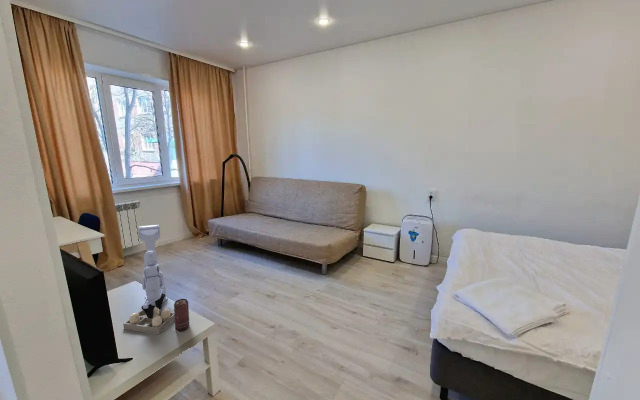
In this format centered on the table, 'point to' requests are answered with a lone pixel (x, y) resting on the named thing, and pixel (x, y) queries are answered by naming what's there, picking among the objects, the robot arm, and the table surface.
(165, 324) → the carton
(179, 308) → the can
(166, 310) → the egg
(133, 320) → the egg
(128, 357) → the table surface
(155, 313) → the egg
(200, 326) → the table surface
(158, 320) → the egg
